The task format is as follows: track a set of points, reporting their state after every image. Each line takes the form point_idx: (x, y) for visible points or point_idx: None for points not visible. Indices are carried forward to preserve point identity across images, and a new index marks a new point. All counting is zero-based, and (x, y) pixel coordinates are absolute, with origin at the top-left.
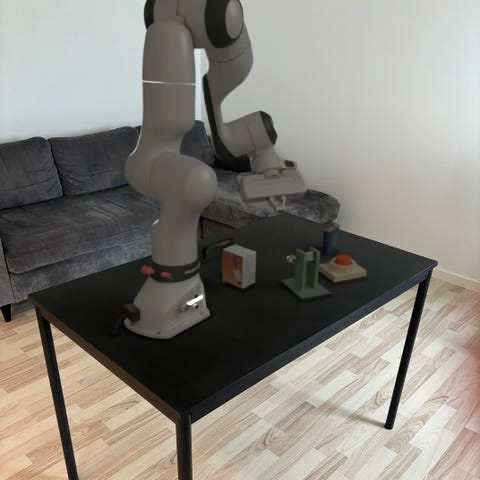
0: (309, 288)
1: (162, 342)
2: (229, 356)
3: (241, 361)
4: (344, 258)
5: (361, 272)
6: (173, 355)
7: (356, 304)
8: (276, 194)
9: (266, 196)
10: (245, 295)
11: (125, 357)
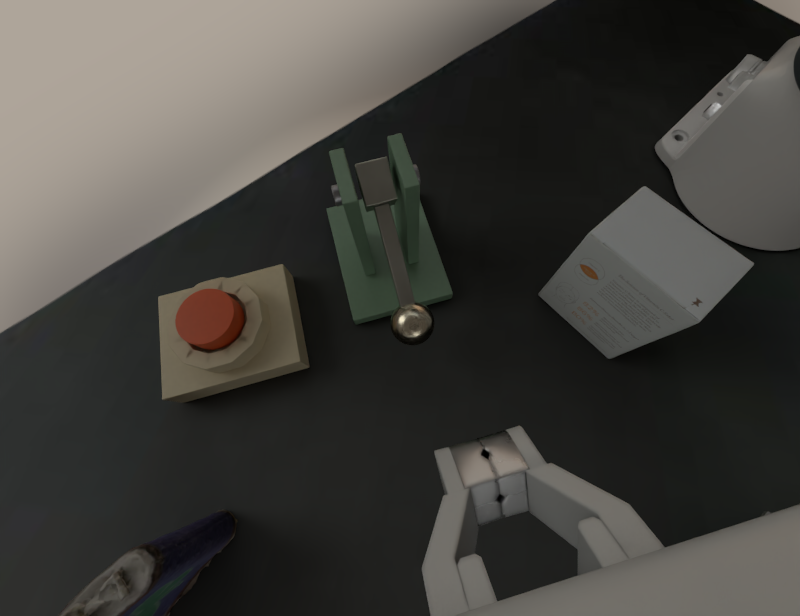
0: (378, 234)
1: None
2: (590, 30)
3: (567, 19)
4: (205, 307)
5: (181, 291)
6: (699, 36)
7: (279, 175)
8: (581, 580)
9: (726, 528)
10: (566, 238)
11: (793, 34)
